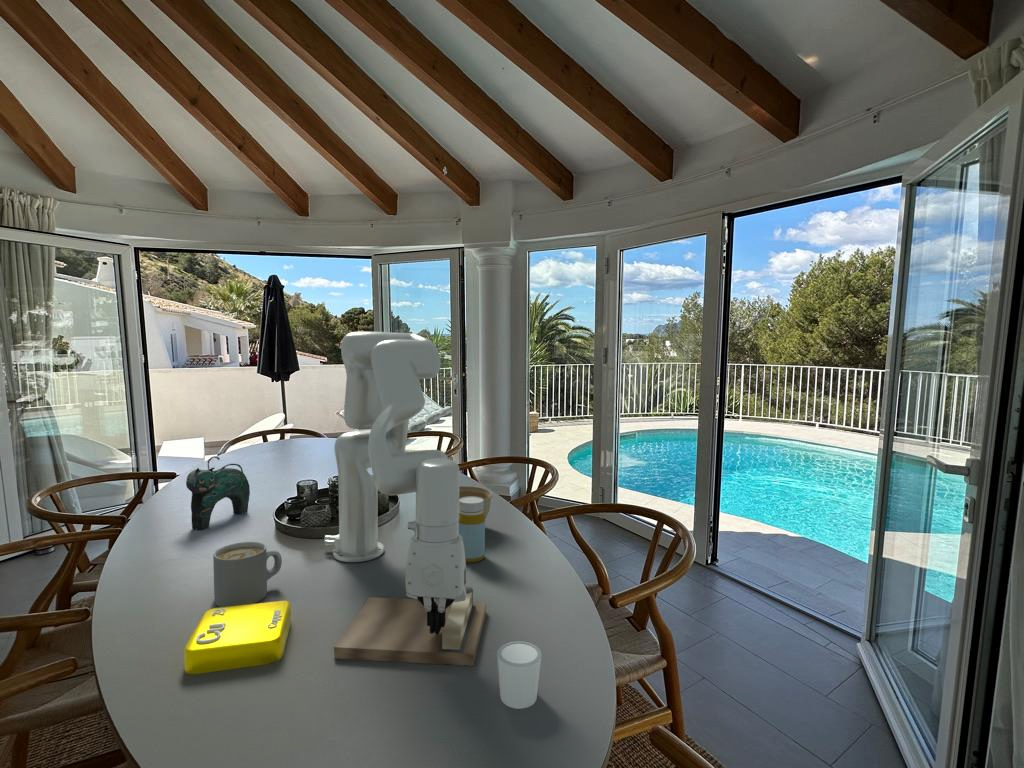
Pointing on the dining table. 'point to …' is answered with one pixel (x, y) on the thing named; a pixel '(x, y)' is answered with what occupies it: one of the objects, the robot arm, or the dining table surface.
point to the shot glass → (519, 673)
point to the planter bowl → (477, 495)
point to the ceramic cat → (216, 492)
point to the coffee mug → (242, 573)
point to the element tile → (238, 637)
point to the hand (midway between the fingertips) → (436, 629)
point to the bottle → (472, 527)
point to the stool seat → (406, 634)
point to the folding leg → (457, 622)
